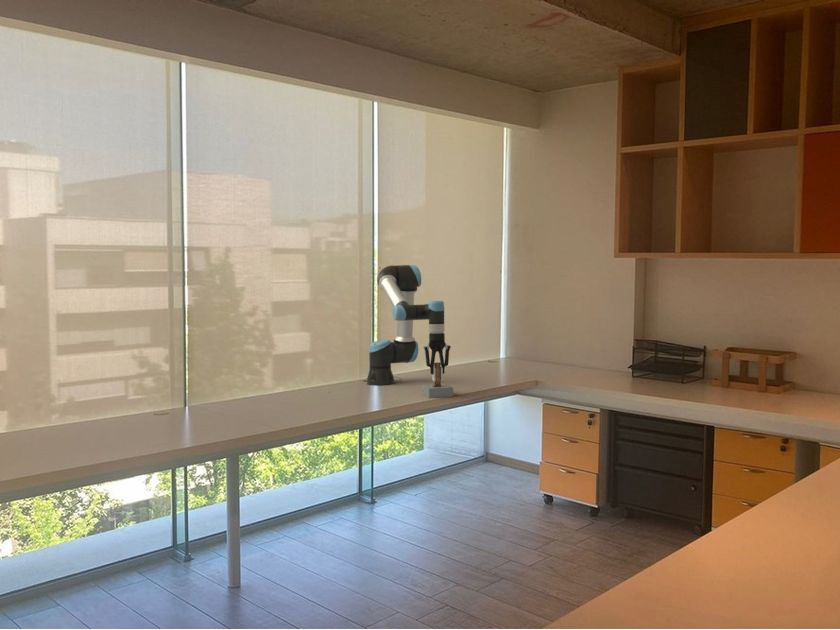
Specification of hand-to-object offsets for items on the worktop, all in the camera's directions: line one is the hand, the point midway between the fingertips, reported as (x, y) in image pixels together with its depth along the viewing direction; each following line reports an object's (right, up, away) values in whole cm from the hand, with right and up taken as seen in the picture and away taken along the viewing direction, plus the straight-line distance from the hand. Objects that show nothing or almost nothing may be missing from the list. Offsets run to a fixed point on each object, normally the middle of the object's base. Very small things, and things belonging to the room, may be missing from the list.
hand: (437, 380), depth 368 cm
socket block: (0, -7, +1) cm, 7 cm away
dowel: (0, -5, 0) cm, 5 cm away
